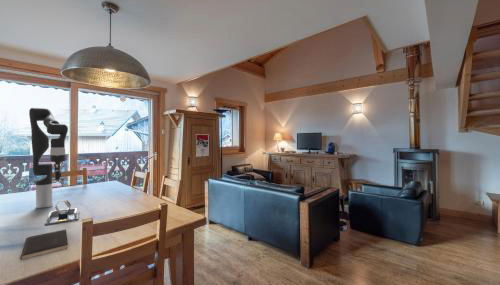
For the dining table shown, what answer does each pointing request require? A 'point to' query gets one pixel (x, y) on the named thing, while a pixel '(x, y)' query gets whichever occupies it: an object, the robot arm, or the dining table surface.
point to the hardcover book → (44, 243)
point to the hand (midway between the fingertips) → (58, 178)
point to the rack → (54, 219)
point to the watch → (63, 213)
